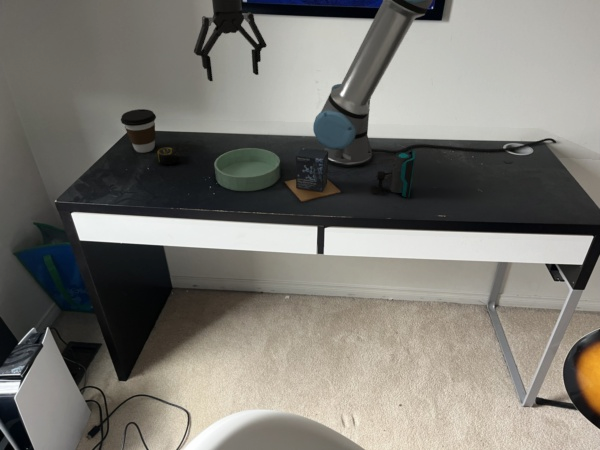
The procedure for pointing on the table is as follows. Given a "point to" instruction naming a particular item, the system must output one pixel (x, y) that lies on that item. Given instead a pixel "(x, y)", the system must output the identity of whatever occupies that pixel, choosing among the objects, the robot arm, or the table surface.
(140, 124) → the coffee cup
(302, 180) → the box
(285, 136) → the table surface
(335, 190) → the mat
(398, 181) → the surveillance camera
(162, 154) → the tape measure
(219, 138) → the table surface
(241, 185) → the bowl
